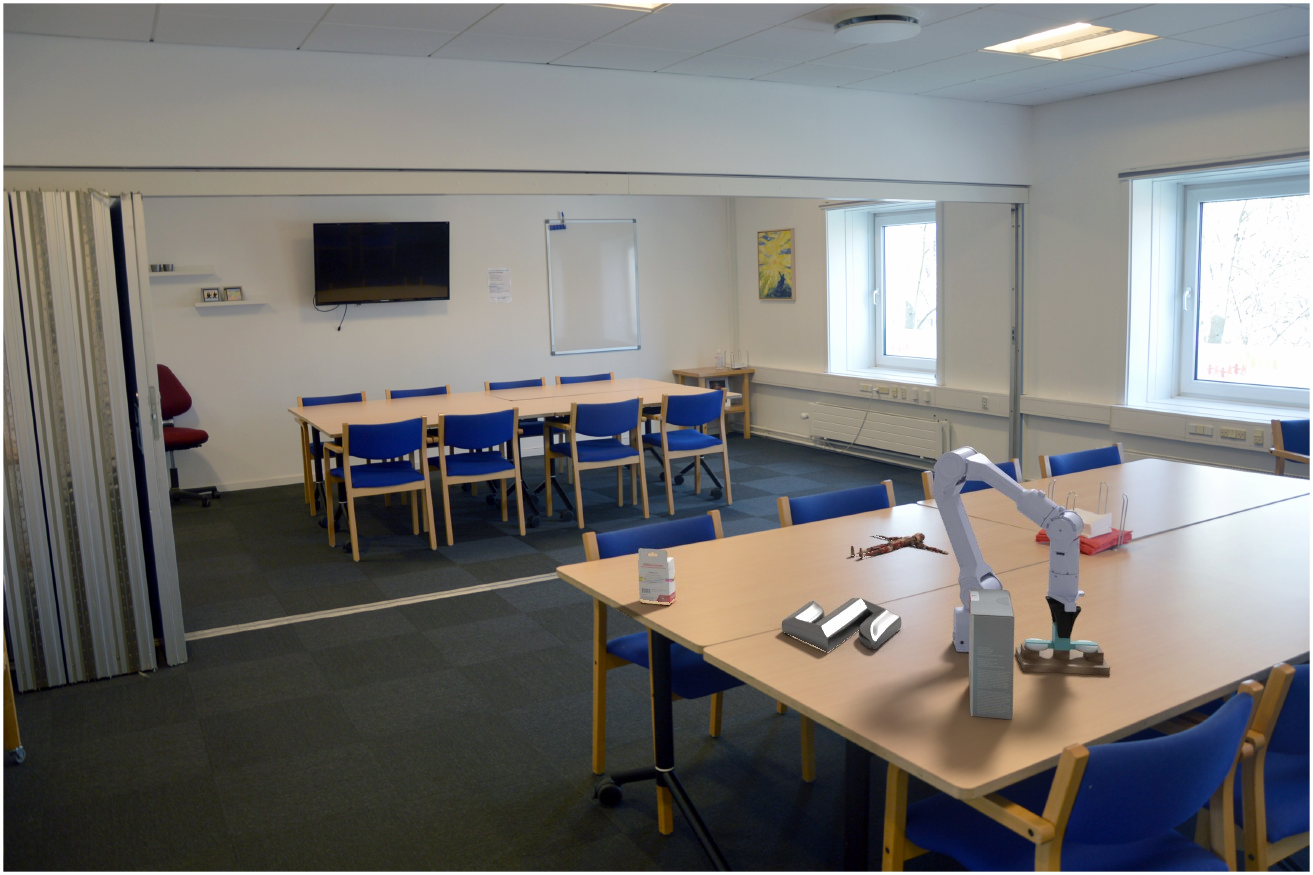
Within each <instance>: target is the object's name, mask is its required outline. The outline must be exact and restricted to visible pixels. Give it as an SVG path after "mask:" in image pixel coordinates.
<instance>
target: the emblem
mask: <svg viewBox="0 0 1313 875" xmlns="http://www.w3.org/2000/svg"><path fill="white" fill-rule="evenodd" d="M901 627H902V618H901V616H900V615H899V614H896V613H894V612H892V611H890V610H889V609H888V608H887V609H886V608H885V607H882V606H880V605H877V604H875V603H873V602H871V601H868V600H867V599H864V598H861V597H852V598H850V599H848V600H847V601H846V602H844V603H843V604H841V605H840V606H839V607H837V608H836V609H834V610H832V611H831V612H830V613H828V614H827V615H826V616H825V610H824V608H823V606H821V605H820V604H819V603H817V602H816V601H815V600H811V601H808V602H806V604H805V605H803V606H801V607H800V608H799V609H798V610H796V611H795V612H793V613H791V614H790V615H788V616H787V617H785V618H784V619H782V621H781V632H782V631H783V632H785V633H787V634H789V635H791V636H794V637H796V638H798V639H800V640H802V641H804V642H807V643H809V644H811V645H814V646H816V647H818V648H820V649H822V650H824V651H826V652H829V651H830V650H832V649H833V648H835V647H836V646H837V645H839V644H840V643H842V642H843V641H844V640H846V639H847V638H849V637H850V636H851V635H853V634H854V633H855V632H857V631H858V630H859V631H858V632H857V633H858V639H859V641H860V642H861V643H862V644H863V645H864V646H866V648H869V649H875V650H876V649H878V648H879V647H881V645H883V643H885V642H886V641H887V640H888V639H890V638H891V637H892V636H893V635H894V634H896V633H897V632H898V631H899V630H900V629H901ZM783 632H782V633H783ZM855 634H856V633H855ZM855 634H854V635H855ZM854 635H853V636H854ZM850 638H851V637H850ZM850 638H849V639H850ZM846 641H847V640H846ZM842 644H843V643H842ZM839 646H840V645H839ZM835 649H836V648H835Z"/></svg>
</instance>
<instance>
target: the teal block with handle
mask: <svg viewBox="0 0 1313 875" xmlns="http://www.w3.org/2000/svg"><path fill="white" fill-rule="evenodd" d="M1051 624H1052V625H1051V627H1052V628H1051V640H1048V639H1046V640H1045V639H1041V638H1034V637H1033V638H1032V637H1031V638H1027V639H1026V638H1025V639H1024V643H1025V647H1026V648H1028V649H1030V650H1035V651H1044V650H1047V649H1054V650H1066V651H1070V649H1071V650H1077V651H1080V652H1085V653H1093V652H1097V651H1098V646H1099V645H1098V643H1097V642H1096V641H1091V640H1085V639H1079V640H1073V641H1072V640H1071V638H1072V637H1071V636H1072V635H1071V636H1070V638H1059V637H1058V633H1057V626H1056V622H1052V623H1051Z"/></svg>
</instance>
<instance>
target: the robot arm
mask: <svg viewBox="0 0 1313 875" xmlns="http://www.w3.org/2000/svg"><path fill="white" fill-rule="evenodd" d="M932 467H933V471H934V478H933V484H932V485H933V486H932V496H933V498H934V501H935V503H936V506H937V509H938V511H939V515H940V517H941V520H942V523H943V526H944V528H945V531H946V534H947V536H948V539H949V543H950V545H951V548H952V550H953V553H954V556H955V559H956V562H957V564H958V566H959V574H958V578H957V580H958V584H959V588H960V589H959V590H960V591H959V599H960V602H961V604H962V605H963V606H957V607H956V606H955V607H954V608H953V620H952V621H953V624H952V626H953V627H952V628H953V629H952V641H953V644H954V647H955V651H956V652H957V653H969V589H970V588H973V589H994V590H1004V587H1003V586H1004V585H1003V583H1002V581H1001V580H1000V579H999V577H998V576H997V575H996V574H995V573H994V571H993V568H992V566H991V565H990V564H988V563H987V562H986V561H985V559H984V556H983V553H982V552H981V549H980V545H979V544H978V543H979V542H978V540H977V538H976V535H975V532H974V529H973V527H972V524H971V522H970V519H969V516H968V513H967V510H966V508H965V505H964V502H963V499H962V497H961V494H960V493H961V490H962V489H963V488H964V486H965V484H966V482H967V481H972V482H973V481H975V482H976V481H978V482H984V483H985V484H988V486H991V487H992V488H993V489H995V490H996V491H998V492H999V493H1001V494H1003V495H1004V496H1006V497H1007V498H1009V499H1010V500H1012V501H1013V502H1014V503H1015V505H1016V510H1017V512H1019V513H1020V514H1022V515H1023V516H1024V517H1026V518H1027V519H1029V521H1032V522H1033V523H1034V524H1036V525H1037V526H1038V527H1039V528H1041V529H1042V530H1045V534H1046V536H1047V538H1048V539H1049V554H1048V555H1049V556H1048V557H1049V558H1048V560H1049V561H1048V583H1047V584H1048V588H1047V590H1046V593H1047V595H1045V597H1044V598H1045V600H1046V602H1047V605H1048V608H1049V610H1050V615H1051V621H1052V622H1056V626H1057V633H1058V637H1059V638H1070V636H1072V633H1073V628H1074V625H1075V622H1076V620H1077V618H1078V617H1079V615H1080V613H1081V612H1082V607H1081V606H1080V605H1077V601H1078V600H1079V598H1080V597H1085V596H1086V595H1085V594H1086V593H1085V592H1084V591H1083V590H1080V589H1079V586H1080V584H1079V583H1080V551H1081V550H1080V541H1081V539H1080V537H1079V536H1080V535H1082V533H1083V531H1084V529H1085V528H1084V527H1085V523H1084V521H1083V518H1082V517H1081V515H1079V514H1078V513H1077V511H1075V510H1072V509H1071V510H1070V509H1066V507H1065V506H1063V505H1058V504H1057V503H1056V502H1054V501H1053V500H1052V499H1050V498H1049V497H1047V496H1046V495H1047V493H1046V492H1045V491H1044V490H1042V489H1040V490H1037V489H1036V488H1031V489H1026V488H1025V487H1023V486H1022V485H1021V484H1019V483H1018V482H1017V481H1016V480H1014V479H1013V478H1012V477H1011V476H1009V475H1008V474H1007V473H1005V471H1003V470H1002V469H1001V468H999V467H998V466H997V465H996V464H995V463H993V462H992V461H991V460H990V459H989V458H987V456H986V455H984V454H983V453H981V452H978V451H977V450H976V449H975V448H973V447H971V446H966V445H965V446H961V447H958V448H957V449H953V450H951V451H946V452H944V453H941V455H940V457H939V458H938V459H937V461H936V462H935V464H934V465H933V466H932Z"/></svg>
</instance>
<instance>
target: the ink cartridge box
mask: <svg viewBox="0 0 1313 875" xmlns="http://www.w3.org/2000/svg"><path fill="white" fill-rule="evenodd" d="M649 554H654V555H649ZM655 555H656V556H655ZM637 565H638V567H637V568H638V587H639V589H638V590H639V600H640V599H643V600H649V601H658V602H669V603H670V602H671V601H672V600H673V599H675V598H676V597H677V596H676V595H677V594H676V572H675V570H676V569H675V557H671V556H670V557H669V556H668V550H666V549H654V548H643V547H642V548H641V547H640V548H638V560H637Z"/></svg>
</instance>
